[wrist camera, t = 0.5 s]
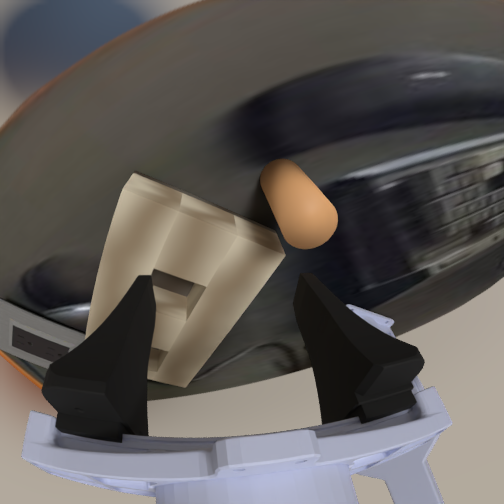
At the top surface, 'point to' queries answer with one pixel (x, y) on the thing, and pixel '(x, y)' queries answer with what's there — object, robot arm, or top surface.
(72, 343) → the electrical outlet
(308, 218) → the dowel
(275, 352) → the top surface
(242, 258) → the socket board
